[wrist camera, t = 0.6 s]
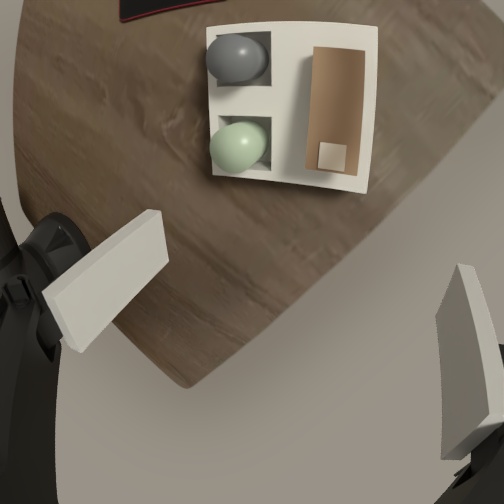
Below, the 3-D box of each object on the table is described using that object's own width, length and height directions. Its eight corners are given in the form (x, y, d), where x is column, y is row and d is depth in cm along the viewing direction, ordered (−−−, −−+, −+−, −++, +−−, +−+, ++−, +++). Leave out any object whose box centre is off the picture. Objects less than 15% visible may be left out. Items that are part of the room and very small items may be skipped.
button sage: (228, 160, 31) (210, 171, 28) (227, 119, 28) (208, 125, 25) (269, 163, 29) (255, 175, 26) (269, 120, 27) (254, 127, 24)
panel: (228, 163, 34) (206, 179, 30) (224, 31, 26) (199, 26, 22) (367, 180, 30) (366, 199, 26) (376, 33, 22) (378, 24, 18)
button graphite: (225, 81, 26) (206, 83, 23) (224, 40, 24) (204, 36, 21) (269, 80, 25) (254, 81, 22) (268, 37, 23) (253, 32, 20)
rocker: (307, 168, 25) (304, 169, 23) (316, 51, 21) (313, 45, 20) (357, 175, 23) (356, 176, 22) (365, 56, 20) (365, 49, 19)
